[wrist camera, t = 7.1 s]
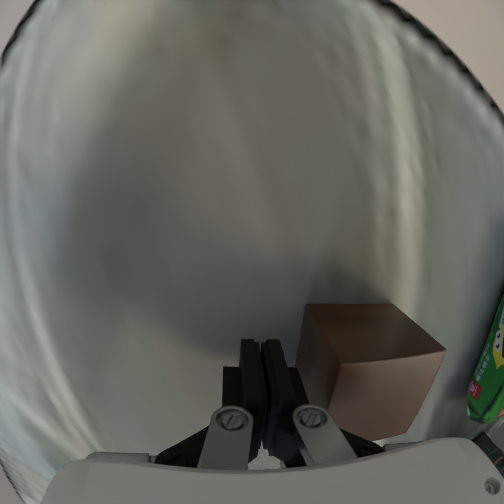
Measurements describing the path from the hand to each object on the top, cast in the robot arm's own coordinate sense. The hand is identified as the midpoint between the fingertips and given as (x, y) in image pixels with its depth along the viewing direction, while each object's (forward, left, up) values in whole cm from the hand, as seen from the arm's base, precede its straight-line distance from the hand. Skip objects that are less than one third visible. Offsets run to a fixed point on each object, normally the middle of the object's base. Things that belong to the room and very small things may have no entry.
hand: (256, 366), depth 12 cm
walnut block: (+5, 0, -2) cm, 5 cm away
